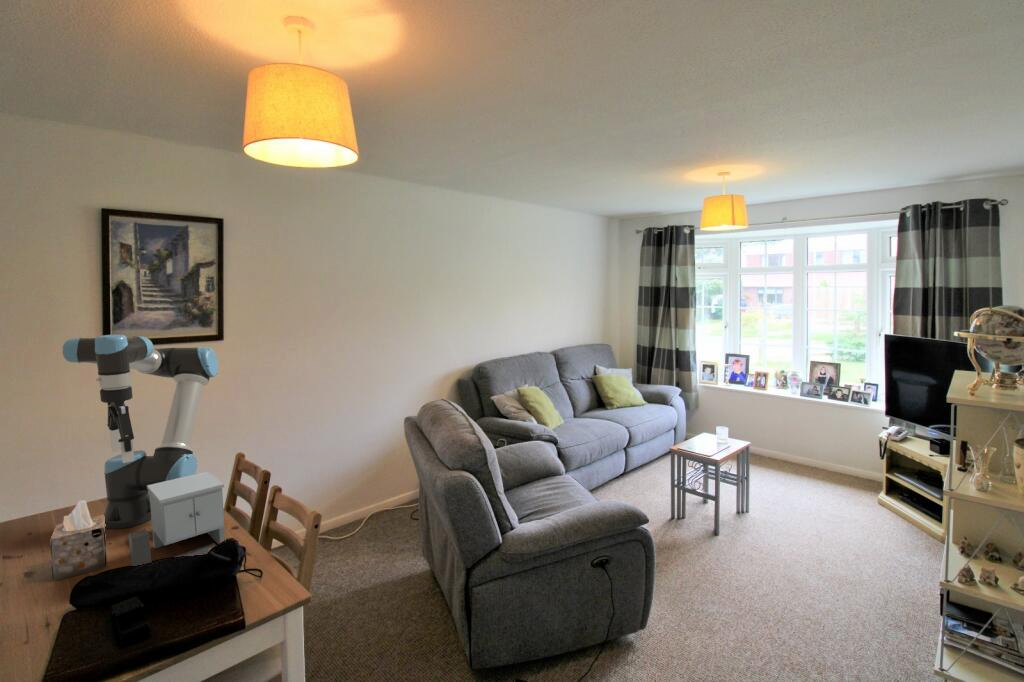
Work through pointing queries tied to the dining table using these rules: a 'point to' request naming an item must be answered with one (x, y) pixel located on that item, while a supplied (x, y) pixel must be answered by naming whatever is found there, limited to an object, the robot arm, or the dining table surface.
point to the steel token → (199, 552)
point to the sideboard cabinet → (187, 508)
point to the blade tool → (147, 548)
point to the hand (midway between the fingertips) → (122, 456)
